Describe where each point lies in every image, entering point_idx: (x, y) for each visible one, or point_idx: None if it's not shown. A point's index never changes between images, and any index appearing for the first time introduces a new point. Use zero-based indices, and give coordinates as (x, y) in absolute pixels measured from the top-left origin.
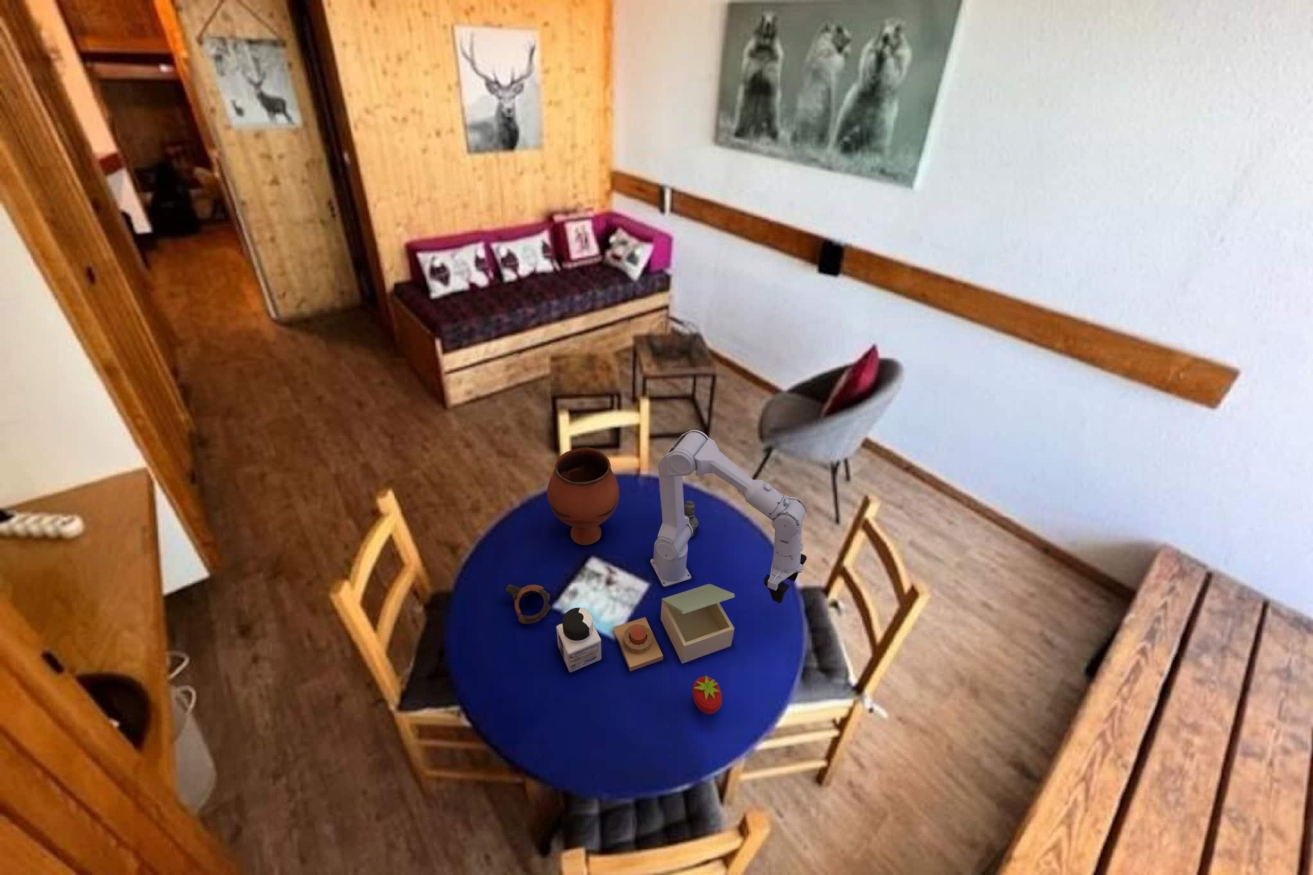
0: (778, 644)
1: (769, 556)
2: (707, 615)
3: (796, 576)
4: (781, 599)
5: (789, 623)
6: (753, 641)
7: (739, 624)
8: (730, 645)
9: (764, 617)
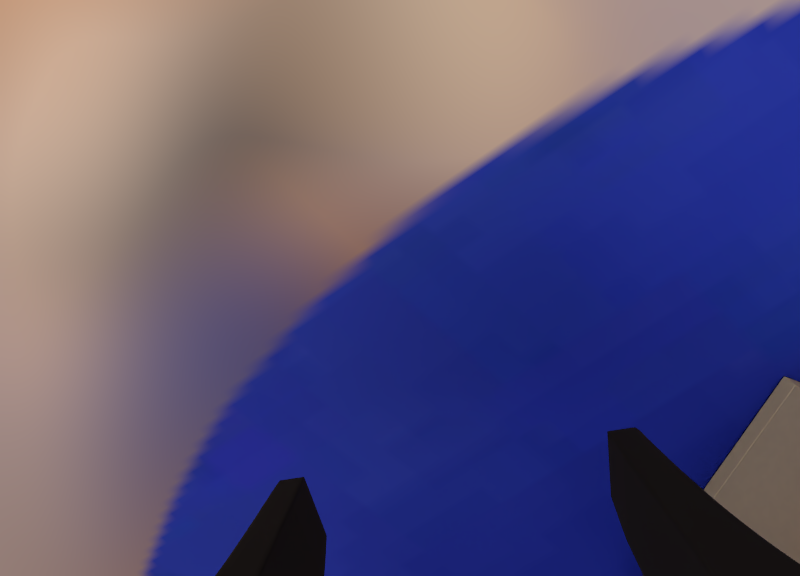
0: (593, 204)
1: (160, 548)
2: None
3: (277, 533)
4: (687, 477)
5: (422, 244)
6: (674, 312)
7: (630, 421)
8: (792, 380)
9: (494, 360)
